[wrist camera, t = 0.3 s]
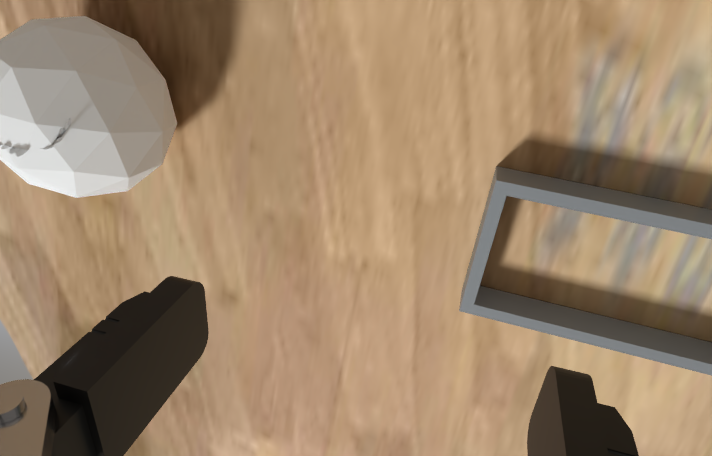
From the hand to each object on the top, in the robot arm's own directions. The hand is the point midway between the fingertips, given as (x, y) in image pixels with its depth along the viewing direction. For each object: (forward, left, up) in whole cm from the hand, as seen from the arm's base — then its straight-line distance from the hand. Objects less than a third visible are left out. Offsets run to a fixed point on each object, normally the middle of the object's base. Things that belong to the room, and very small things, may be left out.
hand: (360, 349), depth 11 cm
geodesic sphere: (+5, -27, -29) cm, 40 cm away
